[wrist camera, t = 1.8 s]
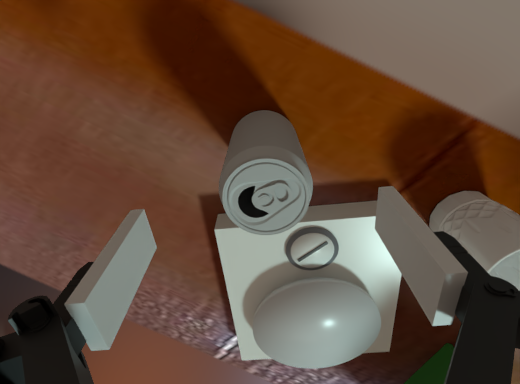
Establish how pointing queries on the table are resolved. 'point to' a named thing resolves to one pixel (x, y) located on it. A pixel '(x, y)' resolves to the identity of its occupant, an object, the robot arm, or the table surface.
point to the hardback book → (434, 368)
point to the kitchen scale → (311, 287)
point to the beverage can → (265, 175)
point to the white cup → (482, 232)
